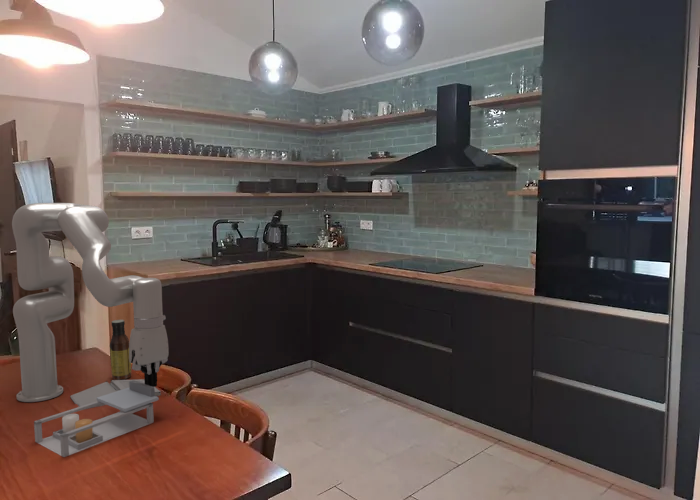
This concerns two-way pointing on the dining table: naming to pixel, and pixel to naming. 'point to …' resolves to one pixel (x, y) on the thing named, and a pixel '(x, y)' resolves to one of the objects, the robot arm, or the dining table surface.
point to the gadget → (103, 391)
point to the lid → (130, 397)
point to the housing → (101, 429)
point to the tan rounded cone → (84, 434)
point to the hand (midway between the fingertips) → (151, 386)
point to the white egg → (69, 422)
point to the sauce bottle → (119, 352)
